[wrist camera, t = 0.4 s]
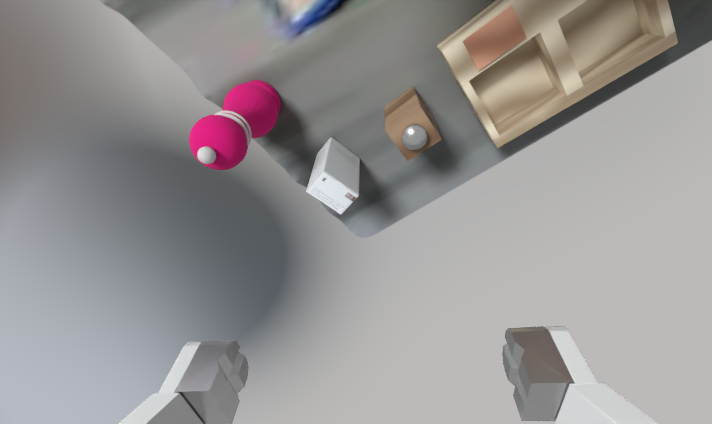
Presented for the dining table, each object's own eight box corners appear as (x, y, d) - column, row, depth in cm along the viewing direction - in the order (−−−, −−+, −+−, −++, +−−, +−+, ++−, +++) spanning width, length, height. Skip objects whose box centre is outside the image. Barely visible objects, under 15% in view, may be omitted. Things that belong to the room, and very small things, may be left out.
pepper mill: (285, 81, 49) (238, 131, 32) (283, 129, 53) (240, 195, 36) (235, 71, 48) (161, 117, 32) (236, 120, 52) (171, 183, 36)
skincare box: (316, 154, 55) (302, 192, 45) (332, 134, 53) (321, 169, 43) (346, 176, 57) (339, 217, 47) (362, 157, 55) (359, 196, 45)
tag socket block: (435, 45, 45) (442, 51, 41) (614, -90, 37) (646, -100, 32) (487, 135, 51) (498, 149, 47) (649, 37, 43) (680, 43, 39)
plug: (384, 107, 50) (385, 134, 41) (413, 85, 48) (421, 109, 39) (402, 133, 52) (408, 164, 43) (431, 113, 50) (443, 142, 41)
